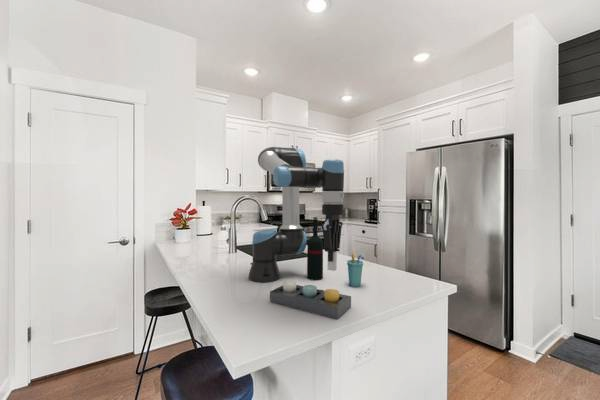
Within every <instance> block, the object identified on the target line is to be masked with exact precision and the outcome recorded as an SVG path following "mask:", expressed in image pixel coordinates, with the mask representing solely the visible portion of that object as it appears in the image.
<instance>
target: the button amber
mask: <svg viewBox="0 0 600 400" xmlns="http://www.w3.org/2000/svg"><path fill="white" fill-rule="evenodd" d="M323 291H324V301H327V302H332V303H338V302H339V294H340V291H339V290H337V289H335V288H334V289H333V288H329V289H328V288H327V289H325V290H323Z"/></svg>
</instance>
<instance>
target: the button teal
mask: <svg viewBox="0 0 600 400" xmlns="http://www.w3.org/2000/svg"><path fill="white" fill-rule="evenodd" d="M302 286H303V296H306V297H310V298H314V297H316V296H317V289H318V288H317V287H318V286H316V285H313V284H306V285H305V284H304V285H302Z"/></svg>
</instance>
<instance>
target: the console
mask: <svg viewBox="0 0 600 400" xmlns="http://www.w3.org/2000/svg"><path fill="white" fill-rule="evenodd" d="M303 286H304V285H298V284H296V291H295V292H294V293H288V292H284V291H283V284H282V285H280V286H279V287H276V288H274V289H273V290H270V291H269V302H270V303H273V304H276V305H281V306H284V307H289V308H292V309H295V310H296V309H297V310H299V311H303V312H308V313H311V314H314V315H318V316H319V315H320V316H324V317H326V318H330V319H335V320H339V319H340V318H341V317H342V316H344V314H345V313H346V312H348V310H350V308H352V296H351V295H347V294H343V293H339V302H338V303H332V302H327V301H324V291H325V290H323V289H318V288H317V296H316V297H314V298H310V297H306V296H303Z"/></svg>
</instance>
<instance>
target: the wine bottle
mask: <svg viewBox="0 0 600 400" xmlns="http://www.w3.org/2000/svg"><path fill="white" fill-rule="evenodd" d="M312 217H313V220H312V236H311V237H309V238H308V239H307V244H306V247H307V252H306V253H307V254H306V257H307V258H306V261H307V262H306V264H307V265H306V278H307V280H310V281H322V280H323V279H324V277H323V276H324V240H322V239H323V238H321V237H320V236H318V232H319V231H318V225H319V224H318V223H319V221H318V219H319V218H318V216H312Z"/></svg>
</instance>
